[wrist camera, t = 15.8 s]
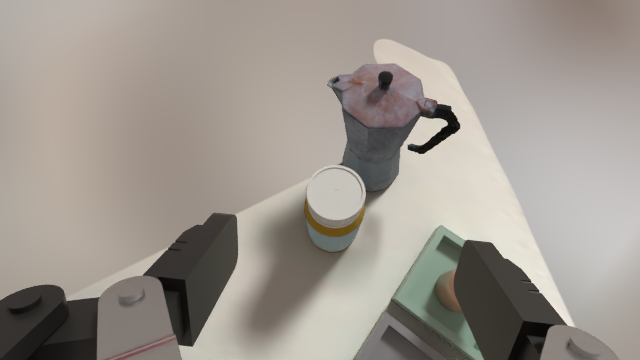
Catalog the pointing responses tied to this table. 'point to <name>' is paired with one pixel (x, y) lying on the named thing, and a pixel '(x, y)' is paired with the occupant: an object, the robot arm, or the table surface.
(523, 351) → the robot arm
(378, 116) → the moka pot
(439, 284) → the orange cylinder
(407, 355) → the tray
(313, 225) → the bottle
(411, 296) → the tray
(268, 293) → the table surface
